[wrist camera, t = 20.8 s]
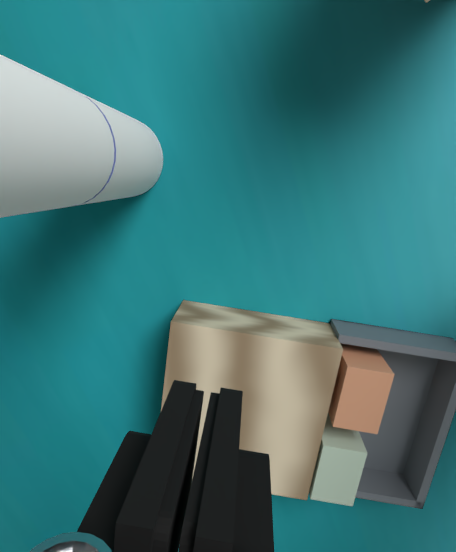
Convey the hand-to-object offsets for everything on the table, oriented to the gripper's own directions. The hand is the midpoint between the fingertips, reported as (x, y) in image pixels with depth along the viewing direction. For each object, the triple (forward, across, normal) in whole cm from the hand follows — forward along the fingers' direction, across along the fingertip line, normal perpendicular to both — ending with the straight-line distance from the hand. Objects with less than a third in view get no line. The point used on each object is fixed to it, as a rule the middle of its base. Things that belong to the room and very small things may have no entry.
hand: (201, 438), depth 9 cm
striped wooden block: (+29, -2, +15) cm, 33 cm away
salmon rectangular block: (+26, -10, +11) cm, 30 cm away
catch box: (+29, -16, +15) cm, 36 cm away
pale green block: (+26, -10, +19) cm, 34 cm away
